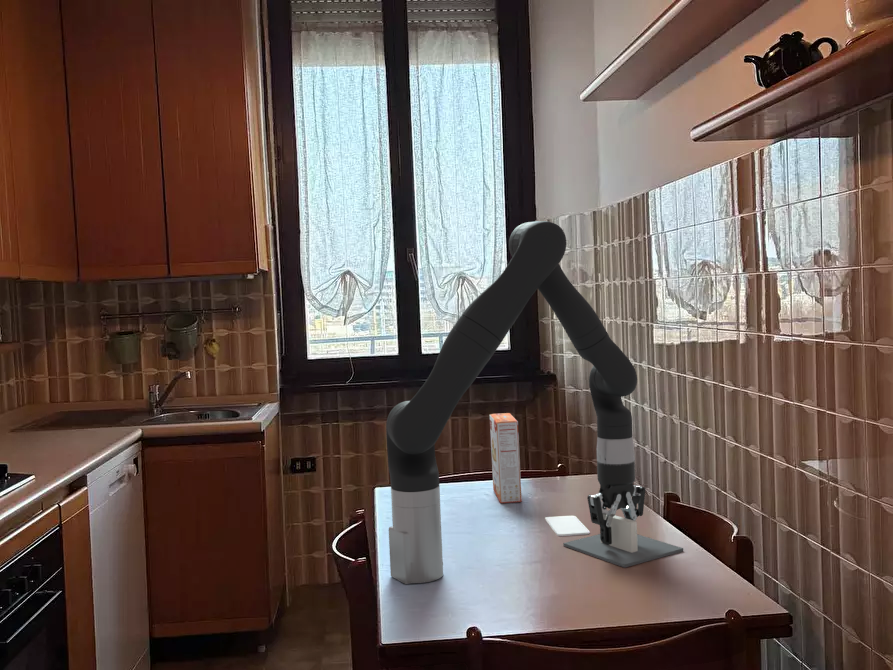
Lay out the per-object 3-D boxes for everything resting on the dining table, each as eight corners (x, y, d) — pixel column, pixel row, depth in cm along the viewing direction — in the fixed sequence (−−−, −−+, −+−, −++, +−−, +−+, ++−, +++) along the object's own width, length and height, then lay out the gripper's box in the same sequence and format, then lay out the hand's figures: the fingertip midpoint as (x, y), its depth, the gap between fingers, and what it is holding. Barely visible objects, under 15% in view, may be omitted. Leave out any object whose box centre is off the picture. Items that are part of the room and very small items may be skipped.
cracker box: (491, 491, 229) (488, 413, 228) (514, 489, 230) (511, 412, 229) (498, 504, 216) (495, 421, 214) (522, 502, 216) (519, 420, 215)
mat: (624, 567, 163) (624, 564, 163) (563, 545, 179) (563, 543, 179) (683, 551, 172) (683, 548, 172) (620, 531, 187) (620, 528, 187)
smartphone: (574, 515, 201) (590, 532, 186) (575, 518, 201) (591, 535, 186) (544, 517, 201) (557, 534, 186) (544, 520, 201) (557, 537, 186)
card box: (631, 552, 170) (630, 522, 170) (600, 542, 178) (599, 513, 178) (637, 551, 171) (637, 521, 171) (606, 540, 179) (606, 512, 179)
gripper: (601, 466, 167) (604, 552, 168) (654, 456, 174) (657, 538, 175) (576, 461, 173) (579, 543, 174) (628, 451, 181) (631, 530, 182)
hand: (618, 540), depth 175 cm, fingers open, 5 cm apart
